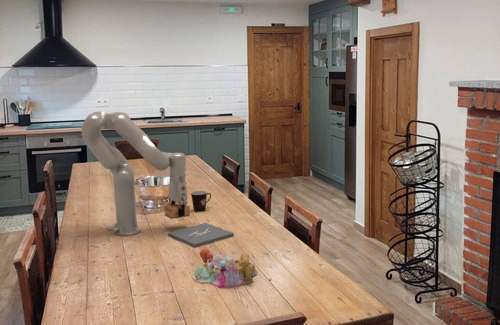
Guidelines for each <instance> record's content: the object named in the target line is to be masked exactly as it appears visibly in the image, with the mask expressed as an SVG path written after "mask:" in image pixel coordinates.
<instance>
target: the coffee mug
mask: <svg viewBox="0 0 500 325" xmlns="http://www.w3.org/2000/svg"><path fill="white" fill-rule="evenodd" d="M190 195H191V200H192V207H193V211H194V212H195V213H203V212H206V209H207V203H208V202H209V201H210V200H211V198H212V194H211V193H210V192H207V191H206V190H205V191H204V190H195V191H192V192H190ZM208 195H209V197H208V199H207V196H208Z"/></svg>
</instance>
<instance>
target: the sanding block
mask: <svg viewBox="0 0 500 325" xmlns="http://www.w3.org/2000/svg"><path fill="white" fill-rule="evenodd" d="M181 205H182V203H181ZM190 209H191V208H190V205H188V204H186V206H185V215H184V216H179V204H178V203H175V204H173V205H170V204H167V205H165V206H164V217H166V218H169V219H172V220H174V219H179V218H184V217H190V216H191V215H190V213H191V212H190V211H191V210H190Z"/></svg>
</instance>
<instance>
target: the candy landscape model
mask: <svg viewBox="0 0 500 325" xmlns="http://www.w3.org/2000/svg"><path fill="white" fill-rule="evenodd" d="M199 257H200V258H201V260H202V262H203V264H201V265H197V266H196V267H195V270H194V271H193V272H192V274H191V278H192V279H193V281H195V282H196V283H197V282H198V284H202V283H203V284H205V283H207V284H208V283H209V285H212V286H214V287H217V288H219V289H220V288H231V287H232V288H234V287H238V286H241V285H246V284H250V283H251V282H253V281H254V279H253V277H254V276H255V275H257V273H258V271H257V269H256V266H255V264H254V263H251V262H250V255H249V254H248V253H245V252H244V253H242V252H241V254H240V259H238V260H237V259H235V260H234V259H233V258H232V257H231V256H230V255H226V253H222V254H221V253H220V254H215V256H214V254H213V253H212V252H211V251H210V250H209V249H208V248H202V249H201V250H200V251H199ZM192 275H193V276H192Z"/></svg>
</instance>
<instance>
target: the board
mask: <svg viewBox="0 0 500 325" xmlns="http://www.w3.org/2000/svg"><path fill="white" fill-rule="evenodd" d="M234 235H235V234H234V232H231V231H229V230H227V229H223V228H221V227H218V226H215V225H213V224H210V223H208V222H203V223H200V224H197V225H192V226H188V227H185V228H181V229H177V230H174V231H171V232H170V231H169V232H167V237H170V238H172V239H175V240H177V241H179V242H181V243H183V244H185V245H188V246H190V247H192V248H198V247H201V246H204V245H209V244H212V243H214V242H219V241H222V240H225V239H229V238H232V237H234Z"/></svg>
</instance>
